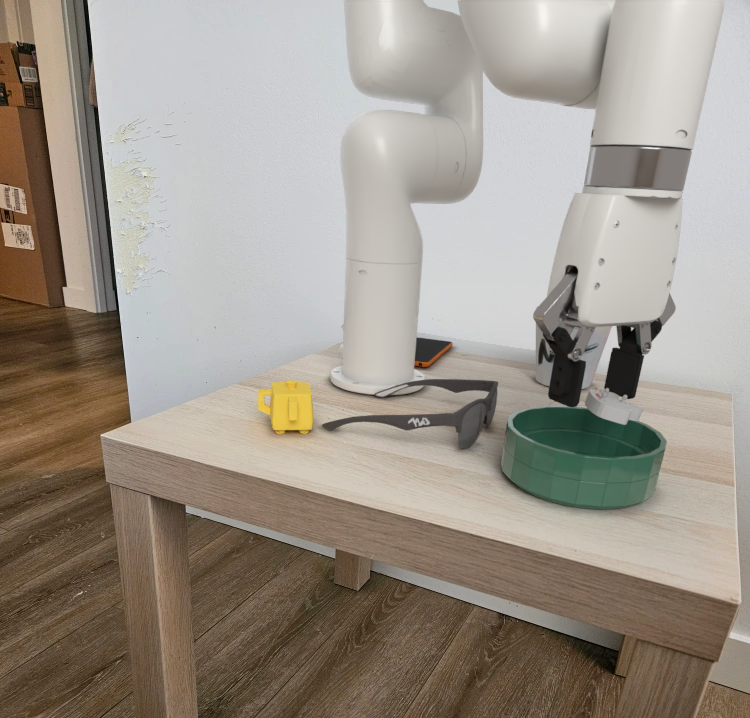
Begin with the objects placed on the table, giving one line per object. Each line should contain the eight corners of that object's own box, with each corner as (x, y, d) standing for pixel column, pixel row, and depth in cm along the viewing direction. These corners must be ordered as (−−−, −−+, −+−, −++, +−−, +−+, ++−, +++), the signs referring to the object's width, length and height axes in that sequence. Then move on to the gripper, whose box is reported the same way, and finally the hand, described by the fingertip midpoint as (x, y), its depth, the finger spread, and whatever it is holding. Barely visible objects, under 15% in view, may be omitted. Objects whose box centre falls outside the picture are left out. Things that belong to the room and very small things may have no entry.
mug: (518, 385, 92) (529, 311, 88) (537, 363, 105) (548, 296, 101) (596, 397, 89) (612, 321, 85) (607, 372, 101) (621, 304, 97)
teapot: (258, 415, 76) (256, 370, 73) (309, 415, 77) (310, 370, 74) (258, 440, 69) (257, 391, 66) (315, 440, 69) (316, 391, 67)
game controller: (653, 428, 58) (660, 398, 57) (530, 432, 55) (535, 402, 54) (617, 407, 63) (623, 379, 62) (503, 410, 60) (507, 382, 59)
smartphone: (453, 346, 112) (453, 340, 112) (428, 369, 98) (428, 363, 97) (409, 340, 114) (410, 335, 114) (378, 362, 100) (378, 356, 99)
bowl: (471, 463, 66) (477, 414, 64) (576, 444, 72) (585, 399, 70) (572, 525, 55) (584, 468, 53) (686, 496, 61) (700, 445, 59)
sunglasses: (467, 462, 66) (467, 413, 64) (317, 447, 72) (313, 402, 71) (509, 416, 79) (510, 374, 77) (380, 407, 86) (378, 368, 84)
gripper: (669, 180, 59) (626, 379, 67) (517, 169, 52) (488, 396, 59) (747, 182, 54) (690, 400, 61) (588, 171, 46) (546, 423, 53)
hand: (591, 396), depth 60 cm, fingers closed on game controller, 6 cm apart
